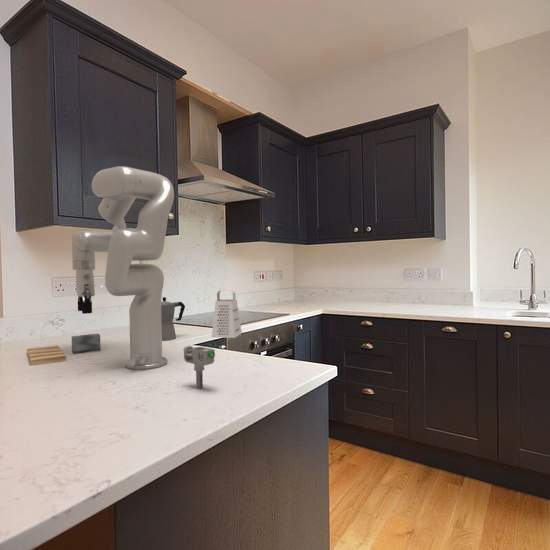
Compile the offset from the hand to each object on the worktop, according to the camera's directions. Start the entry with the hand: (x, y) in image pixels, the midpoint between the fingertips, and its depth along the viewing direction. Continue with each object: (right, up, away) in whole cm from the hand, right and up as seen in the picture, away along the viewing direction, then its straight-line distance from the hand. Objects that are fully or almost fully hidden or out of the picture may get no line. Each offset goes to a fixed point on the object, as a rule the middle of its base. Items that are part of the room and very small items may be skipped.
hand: (84, 312), depth 143 cm
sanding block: (+1, -15, 0) cm, 15 cm away
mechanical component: (+52, -15, -46) cm, 71 cm away
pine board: (-10, -15, -7) cm, 20 cm away
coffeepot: (+24, -14, +23) cm, 36 cm away
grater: (+49, -13, +29) cm, 59 cm away
